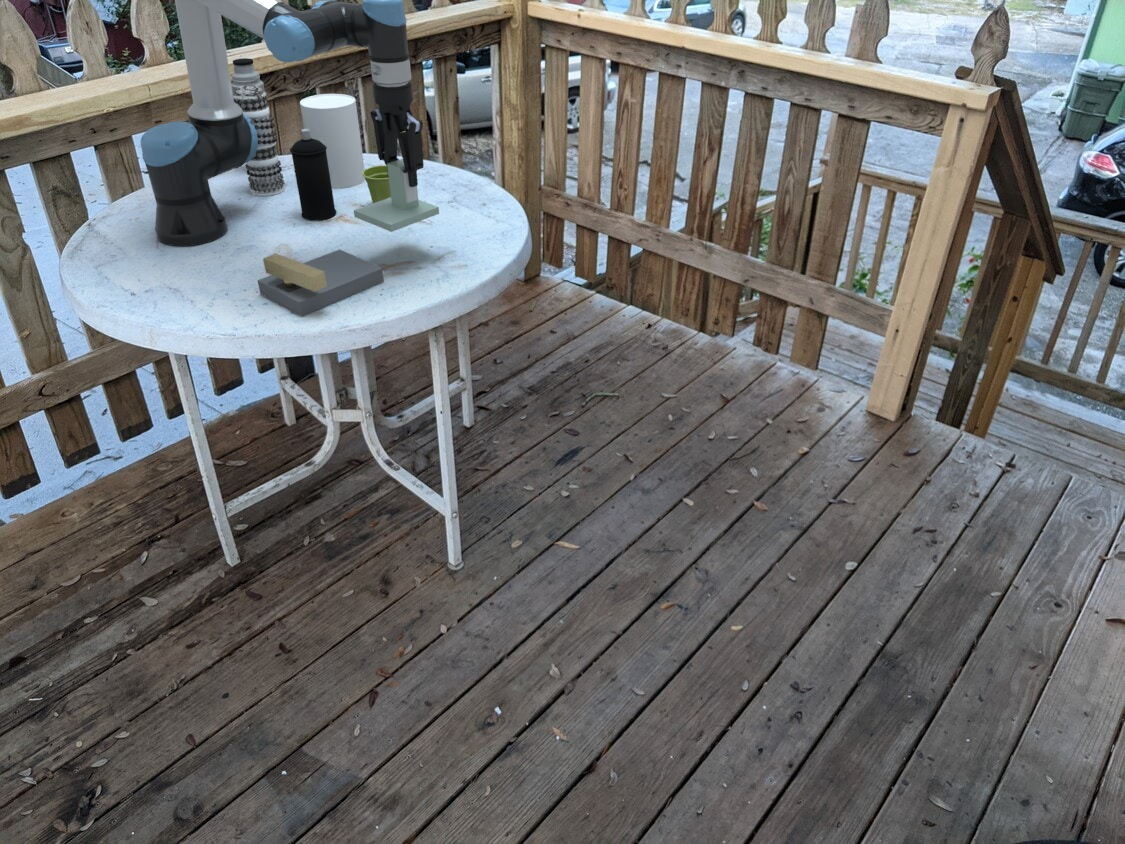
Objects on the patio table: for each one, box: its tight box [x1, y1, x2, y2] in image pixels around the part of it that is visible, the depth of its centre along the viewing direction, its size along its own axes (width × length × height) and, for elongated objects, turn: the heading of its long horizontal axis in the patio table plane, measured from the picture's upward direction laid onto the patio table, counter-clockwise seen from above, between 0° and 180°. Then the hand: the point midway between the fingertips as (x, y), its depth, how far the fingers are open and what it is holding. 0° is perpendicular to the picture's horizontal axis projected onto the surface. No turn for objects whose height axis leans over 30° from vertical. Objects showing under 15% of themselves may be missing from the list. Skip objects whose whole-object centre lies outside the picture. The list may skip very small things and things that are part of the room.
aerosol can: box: [289, 128, 337, 221], centre depth 199 cm, size 8×8×20 cm
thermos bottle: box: [231, 57, 273, 130], centre depth 222 cm, size 8×8×28 cm
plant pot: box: [362, 164, 391, 204], centre depth 207 cm, size 9×9×9 cm
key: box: [262, 253, 327, 292], centre depth 164 cm, size 3×14×5 cm, turn 55°
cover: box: [353, 158, 440, 233], centre depth 177 cm, size 12×13×10 cm
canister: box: [299, 93, 366, 190], centre depth 218 cm, size 14×14×20 cm
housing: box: [257, 249, 385, 317], centre depth 172 cm, size 14×20×3 cm
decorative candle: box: [233, 86, 286, 197], centre depth 210 cm, size 9×9×25 cm
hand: (404, 197), depth 180 cm, fingers closed on cover, 4 cm apart
